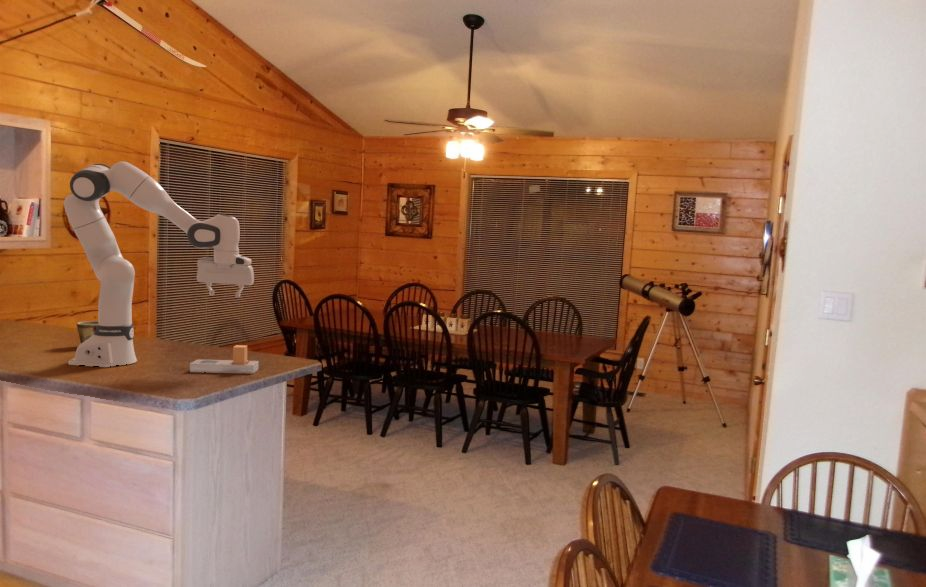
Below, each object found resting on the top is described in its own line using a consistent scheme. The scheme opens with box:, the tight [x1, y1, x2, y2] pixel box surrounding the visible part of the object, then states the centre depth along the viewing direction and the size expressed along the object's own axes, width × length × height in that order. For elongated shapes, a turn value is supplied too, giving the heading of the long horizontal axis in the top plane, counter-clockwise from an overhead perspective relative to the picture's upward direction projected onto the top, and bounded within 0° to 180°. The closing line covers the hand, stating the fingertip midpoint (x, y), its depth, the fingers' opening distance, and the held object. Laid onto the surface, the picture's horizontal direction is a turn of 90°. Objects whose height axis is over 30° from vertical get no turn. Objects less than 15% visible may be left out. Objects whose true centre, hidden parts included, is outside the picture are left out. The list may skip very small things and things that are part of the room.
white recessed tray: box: [189, 358, 260, 375], centre depth 256 cm, size 22×8×3 cm, turn 93°
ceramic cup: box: [76, 320, 98, 344], centre depth 292 cm, size 13×10×10 cm
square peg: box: [232, 344, 248, 364], centre depth 257 cm, size 4×4×9 cm
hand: (224, 296), depth 264 cm, fingers open, 8 cm apart
